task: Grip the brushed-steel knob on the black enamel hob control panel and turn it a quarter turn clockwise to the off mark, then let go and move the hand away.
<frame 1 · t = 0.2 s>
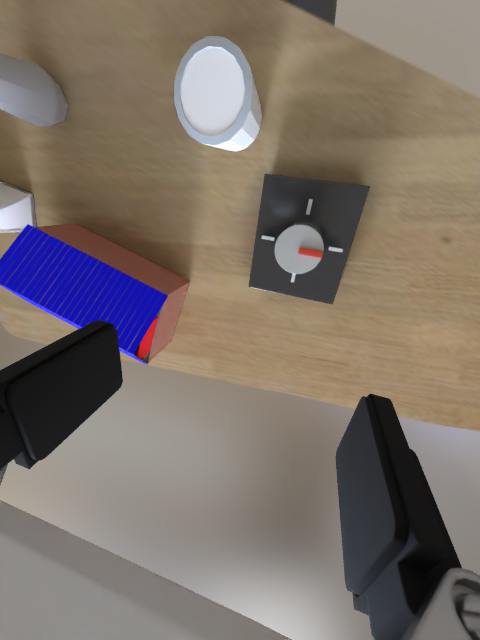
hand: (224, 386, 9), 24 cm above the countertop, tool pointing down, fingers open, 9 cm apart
shot glass: (236, 120, 26), on the countertop
hob panel: (302, 239, 29), on the countertop
salt shaker: (55, 103, 31), on the countertop
skyscraper: (20, 206, 38), on the countertop
house: (126, 285, 39), on the countertop
hob knob: (299, 246, 24), point 5 cm above the countertop, hinge at 90.0°
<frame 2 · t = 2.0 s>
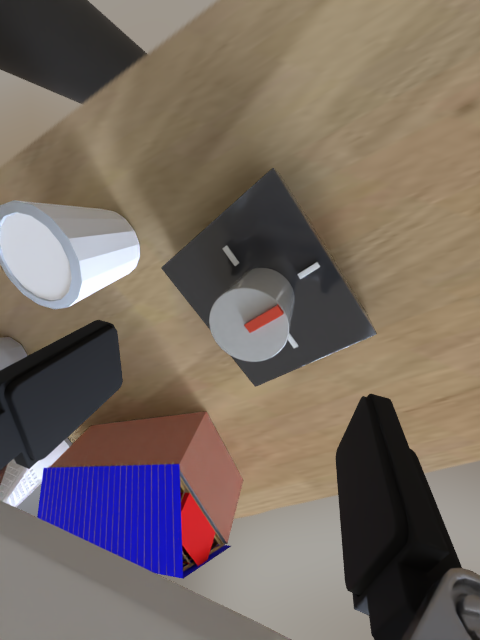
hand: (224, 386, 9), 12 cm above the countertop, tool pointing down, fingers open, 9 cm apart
shot glass: (113, 243, 22), on the countertop
hob panel: (269, 286, 20), on the countertop
salt shaker: (16, 349, 33), on the countertop
skyscraper: (56, 437, 40), on the countertop
house: (163, 449, 33), on the countertop
hob knob: (255, 312, 15), point 5 cm above the countertop, hinge at 90.0°
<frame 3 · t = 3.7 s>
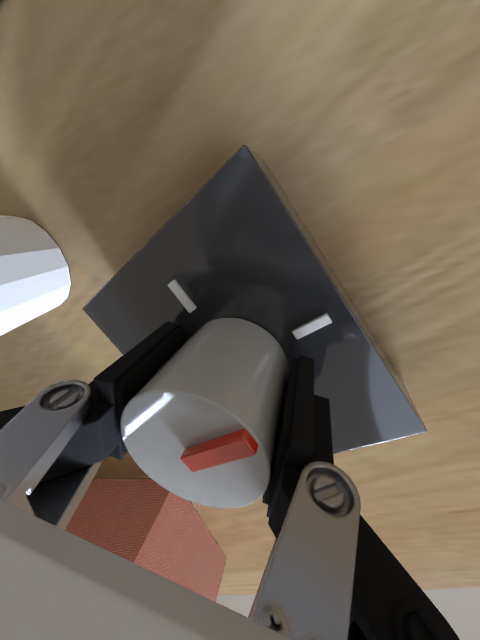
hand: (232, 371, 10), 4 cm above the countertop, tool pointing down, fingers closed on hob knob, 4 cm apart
shot glass: (36, 264, 16), on the countertop
hob panel: (252, 332, 13), on the countertop
house: (128, 513, 27), on the countertop
hob knob: (216, 403, 8), point 5 cm above the countertop, hinge at 90.1°, touching gripper
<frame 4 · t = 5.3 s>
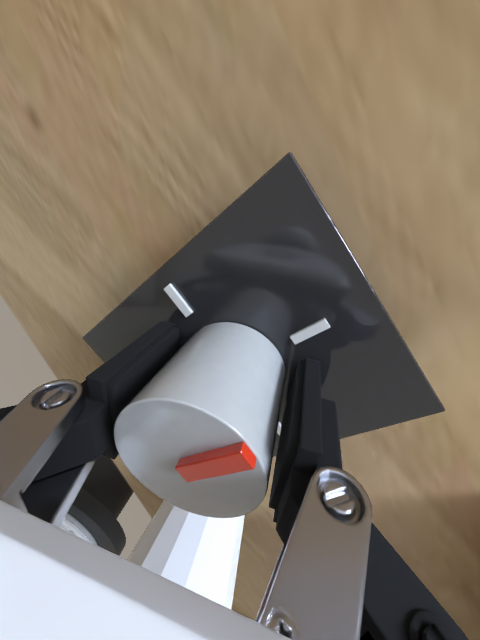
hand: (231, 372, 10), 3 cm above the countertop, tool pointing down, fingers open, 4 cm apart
shot glass: (213, 485, 20), on the countertop
hob panel: (249, 335, 13), on the countertop
hob knob: (212, 409, 8), point 5 cm above the countertop, hinge at -2.7°
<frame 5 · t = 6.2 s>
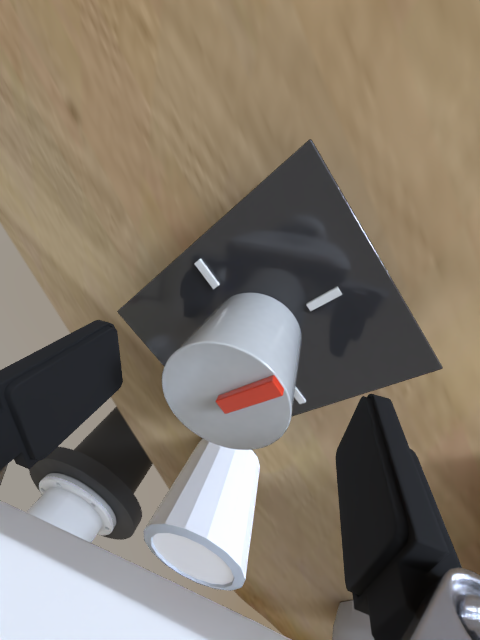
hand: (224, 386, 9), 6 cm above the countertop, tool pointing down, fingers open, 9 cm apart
shot glass: (228, 456, 21), on the countertop
hob panel: (266, 311, 14), on the countertop
salt shaker: (360, 608, 26), on the countertop
hob knob: (240, 364, 10), point 5 cm above the countertop, hinge at -2.7°
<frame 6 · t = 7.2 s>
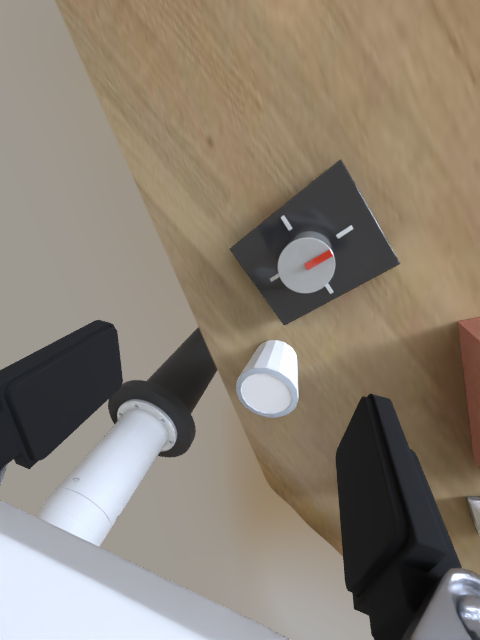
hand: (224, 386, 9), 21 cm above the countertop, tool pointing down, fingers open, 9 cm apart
shot glass: (275, 357, 33), on the countertop
hob panel: (309, 250, 26), on the countertop
hob knob: (306, 261, 21), point 5 cm above the countertop, hinge at -2.7°
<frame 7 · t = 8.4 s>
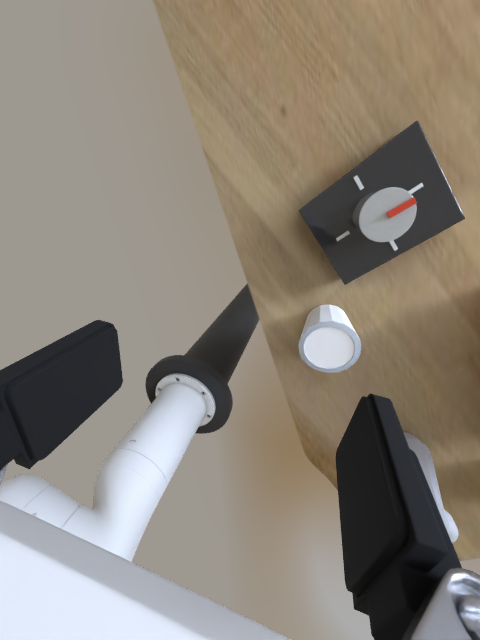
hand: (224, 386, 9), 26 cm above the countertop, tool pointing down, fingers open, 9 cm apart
shot glass: (326, 322, 35), on the countertop
hob panel: (370, 213, 28), on the countertop
salt shaker: (402, 440, 39), on the countertop
hob knob: (381, 215, 23), point 5 cm above the countertop, hinge at -2.7°
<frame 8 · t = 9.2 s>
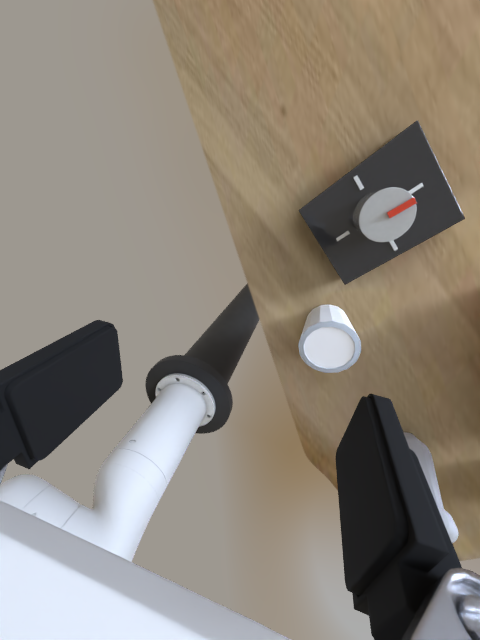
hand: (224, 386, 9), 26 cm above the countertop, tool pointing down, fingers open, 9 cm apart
shot glass: (326, 322, 35), on the countertop
hob panel: (370, 213, 28), on the countertop
salt shaker: (402, 440, 39), on the countertop
hob knob: (381, 215, 23), point 5 cm above the countertop, hinge at -2.7°
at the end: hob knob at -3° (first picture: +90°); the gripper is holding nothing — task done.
